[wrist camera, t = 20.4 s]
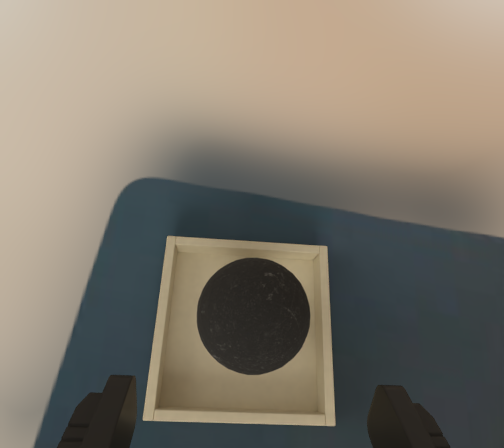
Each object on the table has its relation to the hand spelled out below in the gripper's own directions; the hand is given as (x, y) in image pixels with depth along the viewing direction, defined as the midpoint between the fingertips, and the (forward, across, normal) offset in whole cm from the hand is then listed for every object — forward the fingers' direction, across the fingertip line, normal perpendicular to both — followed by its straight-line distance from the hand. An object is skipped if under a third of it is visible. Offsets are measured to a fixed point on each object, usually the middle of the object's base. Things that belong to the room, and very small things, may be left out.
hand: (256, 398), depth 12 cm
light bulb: (+11, 0, +6) cm, 13 cm away
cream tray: (+12, 0, +6) cm, 13 cm away
